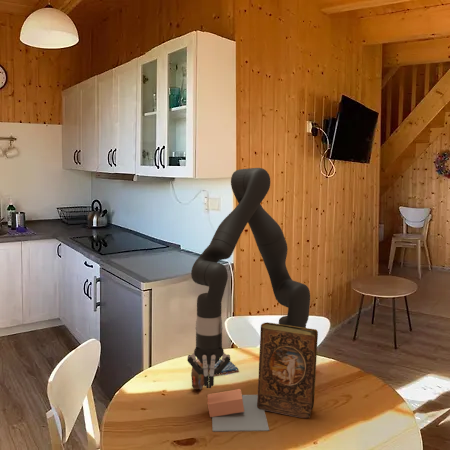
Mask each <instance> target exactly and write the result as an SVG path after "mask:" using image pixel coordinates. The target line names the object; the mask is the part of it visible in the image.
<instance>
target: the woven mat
mask: <svg viewBox="0 0 450 450" xmlns="http://www.w3.org/2000/svg"><path fill="white" fill-rule="evenodd" d="M221 361H222V358H220V359H219V361H218V362H217V363H216V364H215V368H216V367H217V366H218V365H219V364H220V362H221ZM215 368H214V369H215ZM239 372H240V370H239V368H238V366H236V364H234V363H233V361H231V360H230V362H229V363H228V364H227V365H226V366H225V368H224V369H223V370H222V371H221V373H220V374H216V375H214V377H218V376H225V375H228V374H236V373H239ZM209 373H210V364H209Z"/></svg>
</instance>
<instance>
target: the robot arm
mask: <svg viewBox="0 0 450 450" xmlns="http://www.w3.org/2000/svg"><path fill="white" fill-rule="evenodd" d="M230 186H231V190H232V194H234V195H233V196H234V197H235V200H236V201H237V203H238V204H237V205H236V207H234V209H233V210H232V211H231V212H229V214H227V216H225V218H224V219H223V220H222V221H221V222H220V224H219V225H218V226H217V228H216V230H215V233H214V235H213V236H212V238H211V241H210V243H209V245H208V246H207V247H206V248H205V249H204V250H203V251H202V252H201V254H200V255H199V256H198V257H197V258H196V260H195V261H194V263H193V265H192V267H191V279H192V281H193V282H194V283H195V284H196V285H201V286H204V287H205V286H206V287H208V291H207V292H203V293H200V294H199V295H198V297H197V299H196V321H195V348H194V350H193V353H192V354H189V355H187V360H186V361H187V362H188V364H189V365H190V366H191V367H193V368H194V369H195V371H196V372H197V373H198V374H199V375H200V374H202V375H203V376H204V386H203V387H206V389H212V387H214V385H215V376H214V375H216V374H217V375H218V374H220V373H221V371H222V370H223V369H224V368H225V366H226V365H227V364H228V363H229V362H230V361H231V355H230V354H227V353H225V352H224V348H223V317H222V302H223V297H224V294H225V290H226V286H227V283H228V279H229V278H228V277H229V274H228V270H227V268H226V266H225V265H224V264H223V263H220V261H223V260H228V259H229V258H231V256H232V255H233V252H234V250H235V249H236V246H237V244H238V242H239V239H240V237H241V236H242V234H243V232H244V230H245V228H246V226H247V224H248V226H249V228H250V230H251V233H252V235H253V238H254V241H255V243H256V246H257V248H258V252H259V254H260V256H261V258H262V261H263V263H264V266H265V269H266V271H267V273H268V276H269V280H270V284H271V288H272V291H273V295H274V298H275V300H276V302H278V304H280V305H281V306H284V307H286V308H287V315H284V316H282V317H280V318H279V319H278V324H282V325H289V326H296V327H302V328H307V327H306V326H307V323H308V322H309V321H308V320H309V316H310V307H311V306H310V305H311V291H310V288H309V287H308V286H307V284H304V283H302V282H299V281H296V280H293V279H292V277H291V275H290V273H289V271H288V268H287V266H286V265H287V261H286V260H287V256H288V249H289V248H288V243H287V240H286V238H285V237H286V236H285V235H284V231H283V230H282V228H281V226H280V224H278V222H277V221H276V220H275V219H274V218H273V217H272V216H271V215H270V213H268V212H267V211H266V210H265V208H263V206H262V204H261V203H262V202H263V201H264V199H265V198H266V196H267V194H268V193H269V190H270V188H271V176H270V174H269V173H268V171H267V170H266V169H264V168H262V167H250V168H241V169H237V170H235V171H234V172H233V173H232V174H231V178H230ZM197 358H198V360H199V361H200V362H201V363H202V364H203V368H201V367H200V365H199V364H198V363H197V362H196V360H197ZM220 359H221V360H222V361H221V362H220V364H219V365H218V366H217V367H216V368H215V364H216V363H217V362H218V361H219V360H220ZM208 364H210V373H208ZM214 368H215V369H214ZM221 374H222V373H221Z"/></svg>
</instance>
